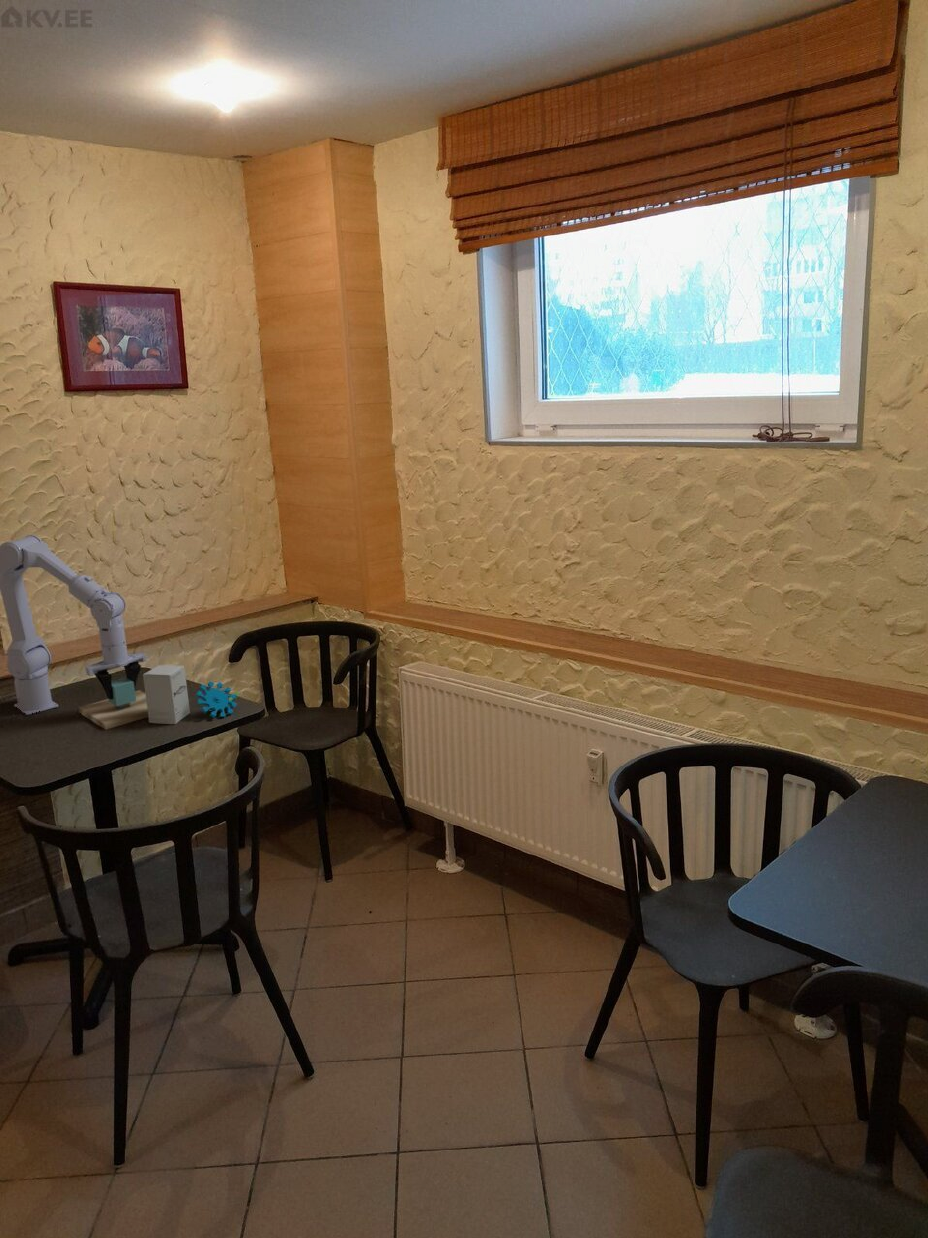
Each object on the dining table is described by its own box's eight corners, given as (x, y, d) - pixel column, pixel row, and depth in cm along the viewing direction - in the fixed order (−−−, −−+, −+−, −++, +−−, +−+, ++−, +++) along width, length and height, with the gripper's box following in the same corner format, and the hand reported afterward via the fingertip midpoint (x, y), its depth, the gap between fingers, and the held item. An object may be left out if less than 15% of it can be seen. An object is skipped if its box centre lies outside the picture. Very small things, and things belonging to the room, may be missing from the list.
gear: (205, 718, 224) (192, 682, 227) (197, 730, 227) (184, 695, 231) (247, 711, 231) (234, 677, 235) (238, 723, 235) (225, 689, 239)
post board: (79, 712, 235) (76, 694, 233) (140, 695, 245) (137, 677, 244) (105, 729, 223) (102, 710, 222) (168, 710, 234) (165, 692, 232)
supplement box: (176, 725, 225) (169, 675, 221) (148, 723, 226) (141, 674, 223) (191, 713, 232) (185, 665, 228) (164, 712, 233) (157, 664, 230)
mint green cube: (108, 701, 233) (105, 682, 232) (127, 696, 237) (125, 677, 235) (116, 706, 230) (114, 687, 229) (136, 700, 233) (133, 682, 232)
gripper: (90, 653, 222) (99, 707, 225) (148, 639, 231) (156, 691, 235) (79, 647, 227) (87, 700, 230) (136, 634, 236) (143, 684, 240)
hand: (121, 695), depth 233 cm, fingers closed on mint green cube, 5 cm apart
